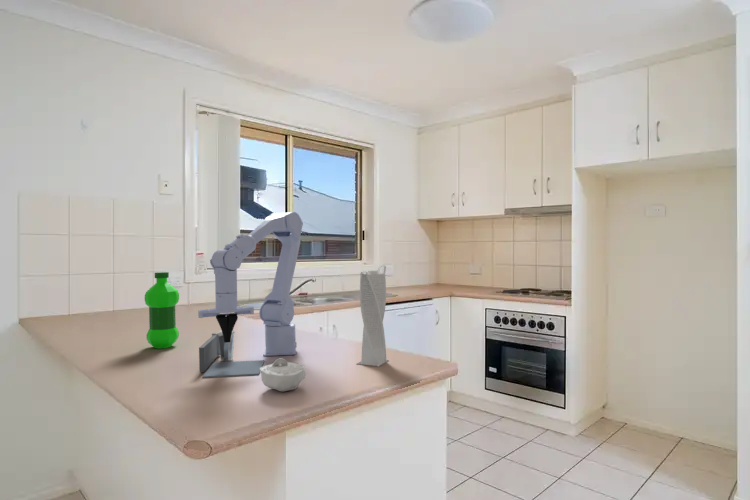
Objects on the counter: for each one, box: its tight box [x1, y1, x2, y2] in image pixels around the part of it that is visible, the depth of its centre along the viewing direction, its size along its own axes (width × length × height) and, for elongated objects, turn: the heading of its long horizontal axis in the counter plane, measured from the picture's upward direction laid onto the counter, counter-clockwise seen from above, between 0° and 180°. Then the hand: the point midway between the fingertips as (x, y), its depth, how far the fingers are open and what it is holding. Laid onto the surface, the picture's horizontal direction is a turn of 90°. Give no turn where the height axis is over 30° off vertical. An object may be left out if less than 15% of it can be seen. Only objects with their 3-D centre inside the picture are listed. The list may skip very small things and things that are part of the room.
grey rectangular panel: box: [198, 332, 221, 373], centre depth 131 cm, size 2×20×7 cm, turn 8°
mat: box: [201, 359, 265, 379], centre depth 125 cm, size 14×14×1 cm
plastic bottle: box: [144, 271, 180, 350], centre depth 154 cm, size 10×10×25 cm
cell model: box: [260, 357, 306, 392], centre depth 107 cm, size 10×12×7 cm
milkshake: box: [217, 329, 235, 362], centre depth 135 cm, size 4×5×10 cm
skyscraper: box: [356, 264, 390, 368], centre depth 129 cm, size 8×8×28 cm
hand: (227, 341), depth 127 cm, fingers closed
